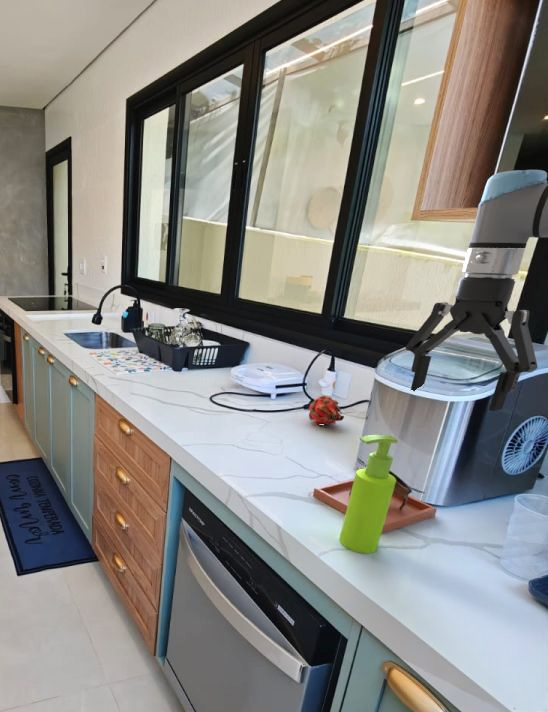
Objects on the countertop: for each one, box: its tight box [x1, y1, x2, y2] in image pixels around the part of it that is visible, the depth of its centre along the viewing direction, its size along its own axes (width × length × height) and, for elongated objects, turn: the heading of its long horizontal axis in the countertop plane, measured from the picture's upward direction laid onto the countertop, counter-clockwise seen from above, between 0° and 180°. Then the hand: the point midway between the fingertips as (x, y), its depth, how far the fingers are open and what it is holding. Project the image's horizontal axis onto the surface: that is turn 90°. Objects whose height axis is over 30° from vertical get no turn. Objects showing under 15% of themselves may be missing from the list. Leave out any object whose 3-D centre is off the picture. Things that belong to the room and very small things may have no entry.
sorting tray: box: [312, 477, 438, 535], centre depth 100 cm, size 16×16×2 cm
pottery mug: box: [349, 470, 413, 510], centre depth 98 cm, size 12×10×8 cm
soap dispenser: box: [339, 434, 398, 554], centre depth 84 cm, size 6×7×20 cm
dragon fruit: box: [308, 395, 345, 427], centre depth 144 cm, size 8×8×12 cm
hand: (453, 399), depth 91 cm, fingers open, 13 cm apart
